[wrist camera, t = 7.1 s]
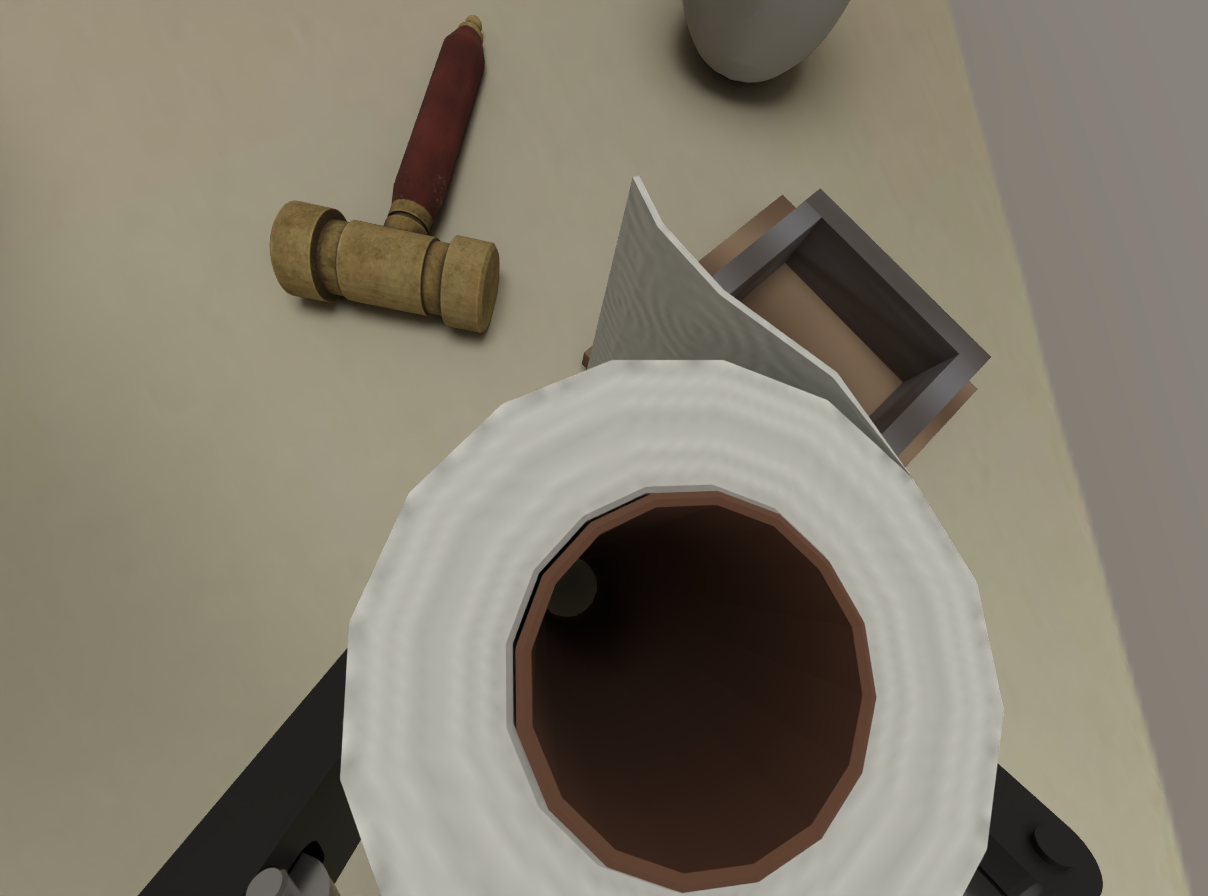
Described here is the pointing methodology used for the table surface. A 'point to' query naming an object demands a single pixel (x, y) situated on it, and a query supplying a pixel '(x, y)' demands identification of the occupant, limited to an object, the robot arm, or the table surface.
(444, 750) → the paper towel roll
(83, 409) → the table surface
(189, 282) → the table surface
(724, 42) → the glass bottle
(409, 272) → the gavel
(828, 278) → the socket board
